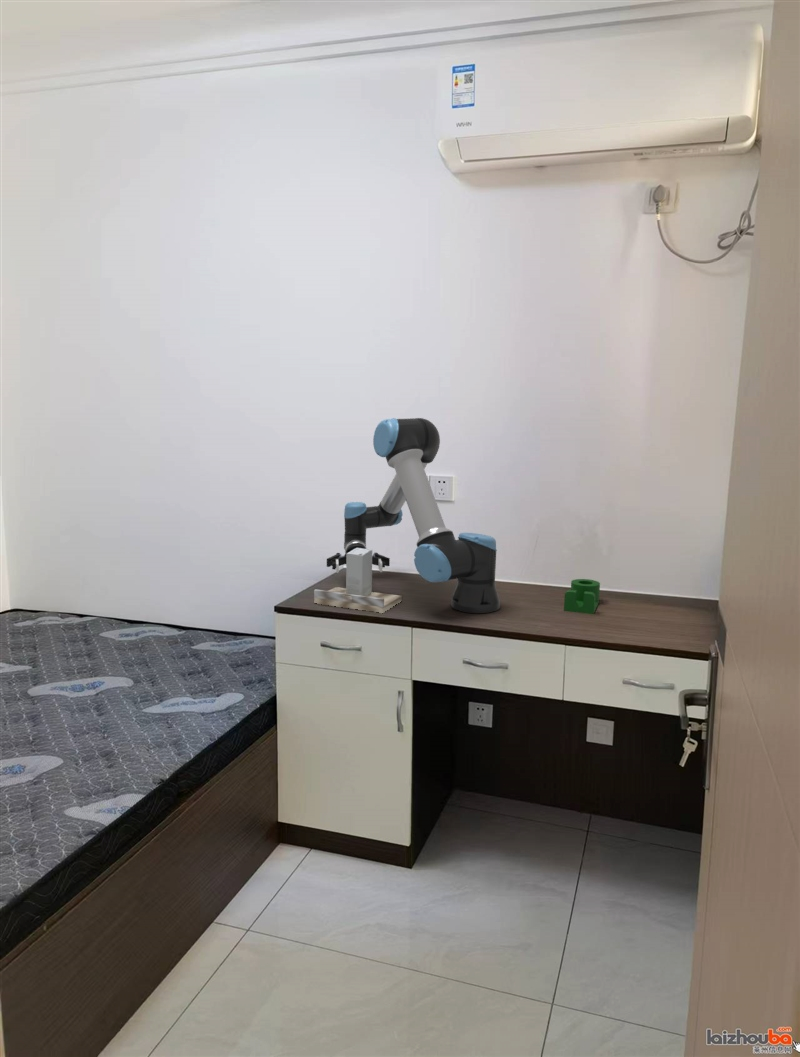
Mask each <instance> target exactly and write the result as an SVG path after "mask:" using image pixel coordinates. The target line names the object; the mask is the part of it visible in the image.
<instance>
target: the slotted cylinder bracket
mask: <svg viewBox="0 0 800 1057" xmlns="http://www.w3.org/2000/svg"><path fill="white" fill-rule="evenodd" d="M570 584H571V585H570V589H567V591H566V592H565V593H564V601H563V602H564V603H563V611H564V612H571V613H579V614H588V615H595V612H596V610H597V608H598V605H599V603H600V589H601V582H599V581H597V580H594V579H590V578H589V579H587V578H576V579H572V580H571V582H570Z"/></svg>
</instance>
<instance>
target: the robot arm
mask: <svg viewBox="0 0 800 1057" xmlns="http://www.w3.org/2000/svg"><path fill="white" fill-rule="evenodd" d="M373 433H374V434H373V440H372V442H373V444H372V445H373V449H374V452H375V453H376V455H377V456H378V457H381V458H385V460H386V462H387V465H388V467H390V468H392V469H394V470H395V473H396V474H395V475H394V476H393V477H394V478H393V479H392V480H391V482H390V485H389V486H388V488H387V490H386V492H385V494H384V495H383V496H382V499H381V500H380V502H379V504H378V505H373V506H367V504H366V503H365V502H362V501H361V502H360V501H359V502H358V501H356V502H354V501H352V502H351V501H350V502H347V503H346V504H345V505H344V510H343V512H344V514H343V517H344V518H343V519H344V542H343V549H344V553H345V554H344V555H342V553H340V552H337V553H336V554H334V555H332V556H330V557H328V558H326V567H327V568H329V567H331V568H332V569H331V570H335V573H340V566H344V565H346V554H347V553H348V552H350V551H352V550H353V549H355V548H362V549H368V548H367V529H372V528H373V529H374V528H382V527H384V528H385V527H392V526H396V525H398V524H400V523H401V522H402V520H403V518H402V517H403V510H402V508H403V506H404V505H405V502H406V505H407V507H408V510H409V513H410V515H411V519H412V521H413V525H414V527H415V529H416V533H417V536H418V540H417V542H416V544H415V545H416V549H415V550H414V559H413V562H414V566H415V569H416V571H417V573H418V574H419V576H421V578H423V579H424V580H425V581H427V582H430V583H443V582H446V581H451V580H456V579H457V583H456V586H455V589H454V591H453V594H452V597H451V603H450V604H451V605H450V606H451V607H452V608H453V609H454V610H457V611H460V612H464V613H470V614H471V613H472V614H487V613H492V612H496V611H498V610H500V608H501V606H500V605H501V601H500V596H499V592H498V590H497V586H496V565H497V564H496V563H497V551H498V550H497V541H496V539H495V537H493V536H491V535H486V534H482V533H473V532H460V533H459V534H458V537H457V539H456V537H455V535H454V532H453V530H450V529H449V528H447V526H446V525H445V522H444V519H443V517H442V514H441V512H440V508H439V506H438V503H437V500H436V498H435V495H434V492H433V490H432V487H431V484H430V481H429V479H428V475H427V472H426V470H425V469H426V467H427V465H428V464H431V463H433V461H434V460H435V458H436V456H437V454H438V452H439V450H440V444H441V438H440V431H439V430H438V428H437V426H435V424H433V422H431V421H430V419H429V420H428V419H426V418H424V417H415V418H413V417H412V418H395V417H393V418H388V419H387V418H386V419H383V420H381V421H380V422H379V423H378V424H377V426H376V427H375V430H374V432H373ZM390 559H391V558H390V557H388V556H385V555H382V554H379V553H378V552H374V553H372V566H377V567H378V570H379V573H383V568H385V567H389V566H390V563H391V562H390V561H391V560H390Z"/></svg>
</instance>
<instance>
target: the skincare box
mask: <svg viewBox="0 0 800 1057" xmlns="http://www.w3.org/2000/svg"><path fill="white" fill-rule="evenodd" d="M372 555H373V549H371V548H367V549H362V548H355V549H353V550H352V551H350V552H348V553H347V554H346V564H345V565H346V567H345V569H346V570H345V582H346V583H345V588H346V594H353V595H361V596H368V595H370V594H371V593H372V592H373V590H372V589H373V587H372V586H373V564H372Z"/></svg>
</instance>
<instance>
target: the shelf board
mask: <svg viewBox="0 0 800 1057" xmlns="http://www.w3.org/2000/svg"><path fill="white" fill-rule="evenodd" d="M402 599H403V598H402V595H397V594H392V593H391V594H389V593H382V592H377V591H376V592H375V591H374V592H373V591H372V593H371V594H370V595H368V596H361V595H353V594H346V587H339V586H335V587H332V588H331V589H329V590H323V589H314V590H313V600H314V601H313V602H314V603H317V604H316V605H321V604H322V606H328V605H329V607H334V606H336V608H341V607H343V608H342V609H348V608H349V609H350V610H355V609H358V610H357V611H362V610H366V611H365V612H369V611H374V612H373V613H376V612H379V613H378V614H382V613H383V614H385V613H386V612H388V611H389V610H391V609H393V608H394V607H395V605H396V604H397V605H399V604H400V602H401V601H402ZM398 603H399V604H398ZM401 603H402V602H401ZM397 605H396V606H397ZM393 606H394V607H393ZM390 608H391V609H390ZM387 610H388V611H387ZM385 611H386V612H385Z"/></svg>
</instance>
